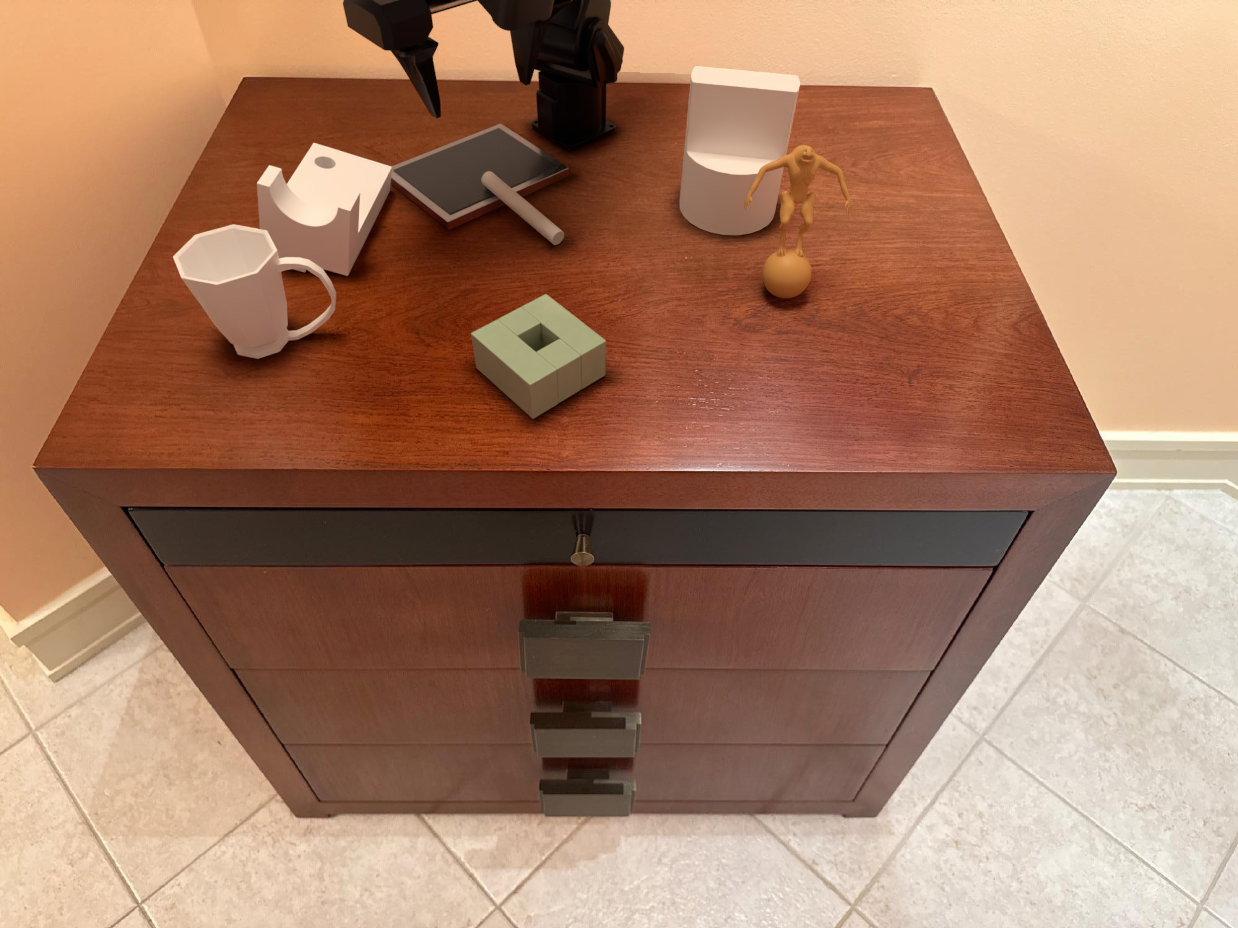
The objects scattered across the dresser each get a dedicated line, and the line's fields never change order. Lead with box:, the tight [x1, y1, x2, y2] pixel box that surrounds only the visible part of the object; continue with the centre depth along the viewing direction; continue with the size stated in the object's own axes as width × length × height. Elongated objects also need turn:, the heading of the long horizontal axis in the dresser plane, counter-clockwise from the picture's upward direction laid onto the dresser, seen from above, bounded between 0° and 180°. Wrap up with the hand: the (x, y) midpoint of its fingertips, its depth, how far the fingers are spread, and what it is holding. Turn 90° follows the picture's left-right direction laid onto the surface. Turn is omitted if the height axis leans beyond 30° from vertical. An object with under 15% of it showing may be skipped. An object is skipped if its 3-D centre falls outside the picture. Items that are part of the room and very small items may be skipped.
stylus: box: [481, 171, 565, 246], centre depth 73 cm, size 1×1×11 cm
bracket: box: [256, 142, 392, 277], centre depth 69 cm, size 13×7×8 cm, turn 175°
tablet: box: [390, 123, 570, 231], centre depth 78 cm, size 14×11×1 cm
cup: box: [172, 223, 337, 360], centre depth 60 cm, size 7×10×8 cm
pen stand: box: [470, 293, 607, 420], centre depth 60 cm, size 7×7×4 cm
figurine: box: [744, 144, 851, 299], centre depth 64 cm, size 8×6×12 cm
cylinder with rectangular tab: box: [678, 65, 801, 236], centre depth 71 cm, size 9×9×12 cm
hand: (481, 99), depth 68 cm, fingers open, 9 cm apart
